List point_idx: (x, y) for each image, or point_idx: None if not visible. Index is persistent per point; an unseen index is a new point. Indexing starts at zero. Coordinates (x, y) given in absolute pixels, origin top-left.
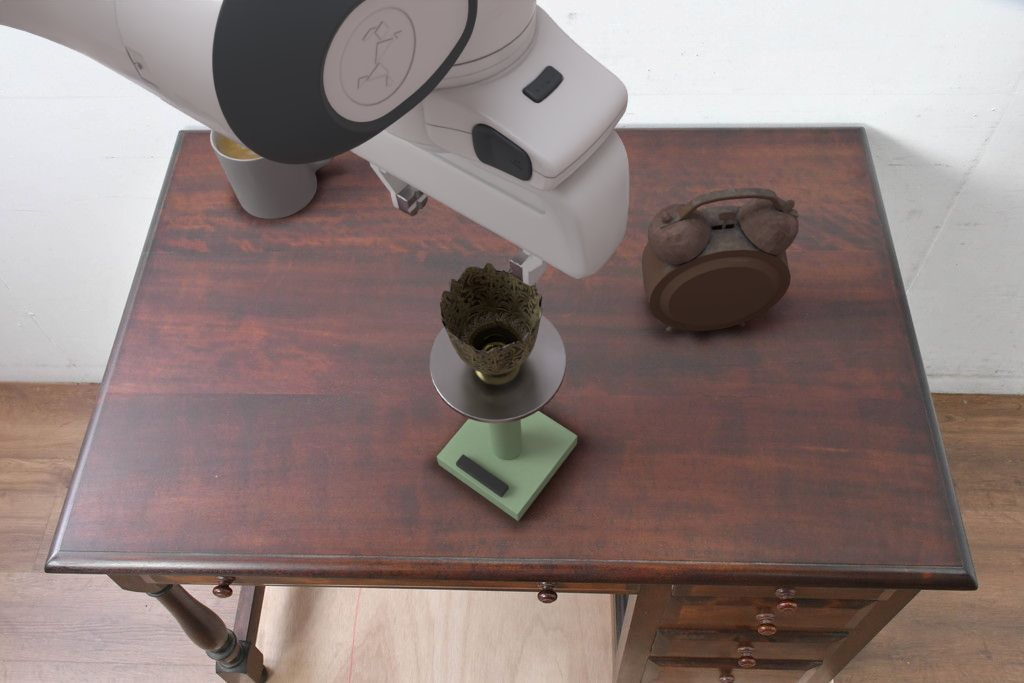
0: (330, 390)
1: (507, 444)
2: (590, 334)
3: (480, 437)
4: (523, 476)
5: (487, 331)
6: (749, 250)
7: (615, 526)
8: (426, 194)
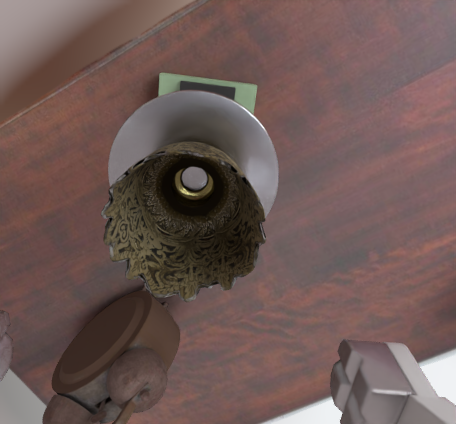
0: (389, 99)
1: None
2: None
3: None
4: None
5: (215, 202)
6: (71, 391)
7: (88, 112)
8: (338, 406)
